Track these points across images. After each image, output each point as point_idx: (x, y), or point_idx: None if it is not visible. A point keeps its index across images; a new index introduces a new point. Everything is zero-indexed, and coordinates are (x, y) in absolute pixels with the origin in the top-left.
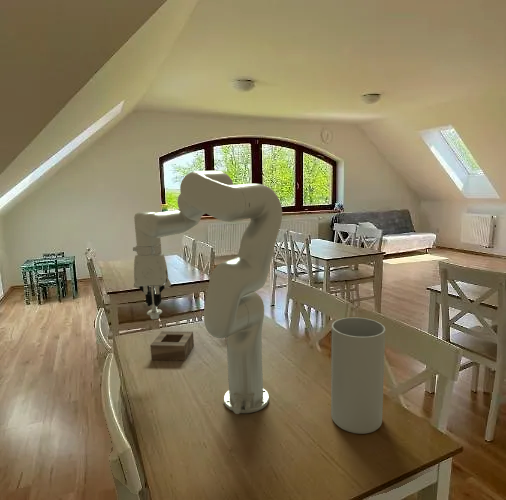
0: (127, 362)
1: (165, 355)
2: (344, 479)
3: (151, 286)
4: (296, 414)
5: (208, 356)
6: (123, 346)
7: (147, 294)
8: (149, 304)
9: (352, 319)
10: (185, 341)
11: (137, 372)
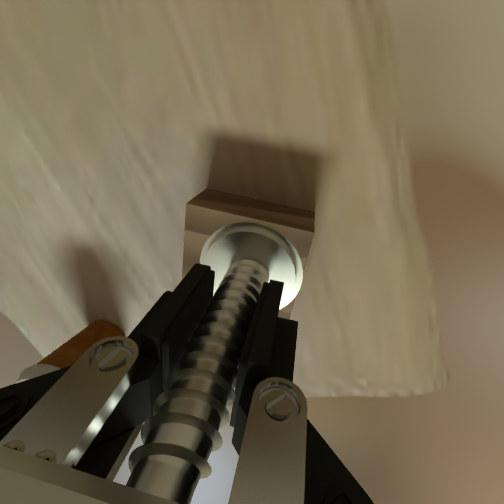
0: (398, 210)
1: (264, 207)
2: None
3: (154, 492)
4: None
5: (143, 203)
6: (417, 323)
7: (259, 377)
8: (264, 287)
9: None
10: (188, 236)
11: (356, 126)
